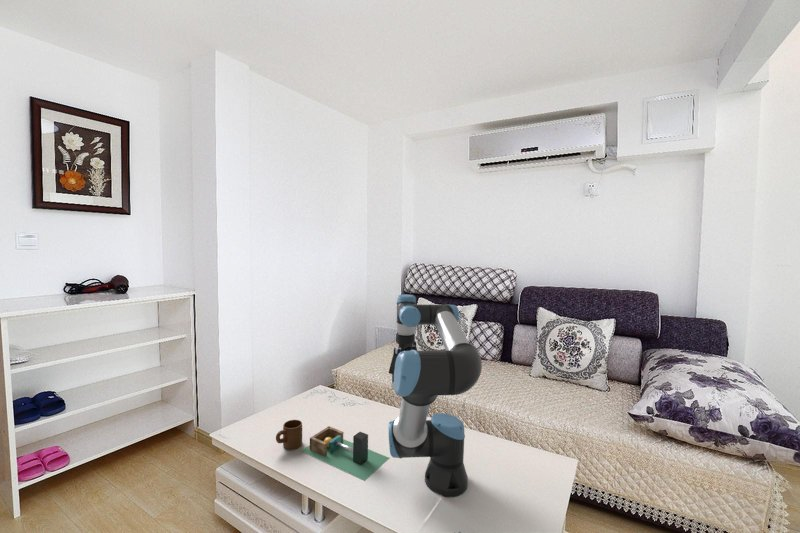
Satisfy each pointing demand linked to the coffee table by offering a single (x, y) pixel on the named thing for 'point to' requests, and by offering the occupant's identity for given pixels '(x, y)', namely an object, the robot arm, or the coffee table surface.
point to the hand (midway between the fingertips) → (404, 384)
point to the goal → (317, 440)
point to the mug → (291, 435)
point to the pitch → (350, 461)
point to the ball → (327, 441)
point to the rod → (358, 447)
